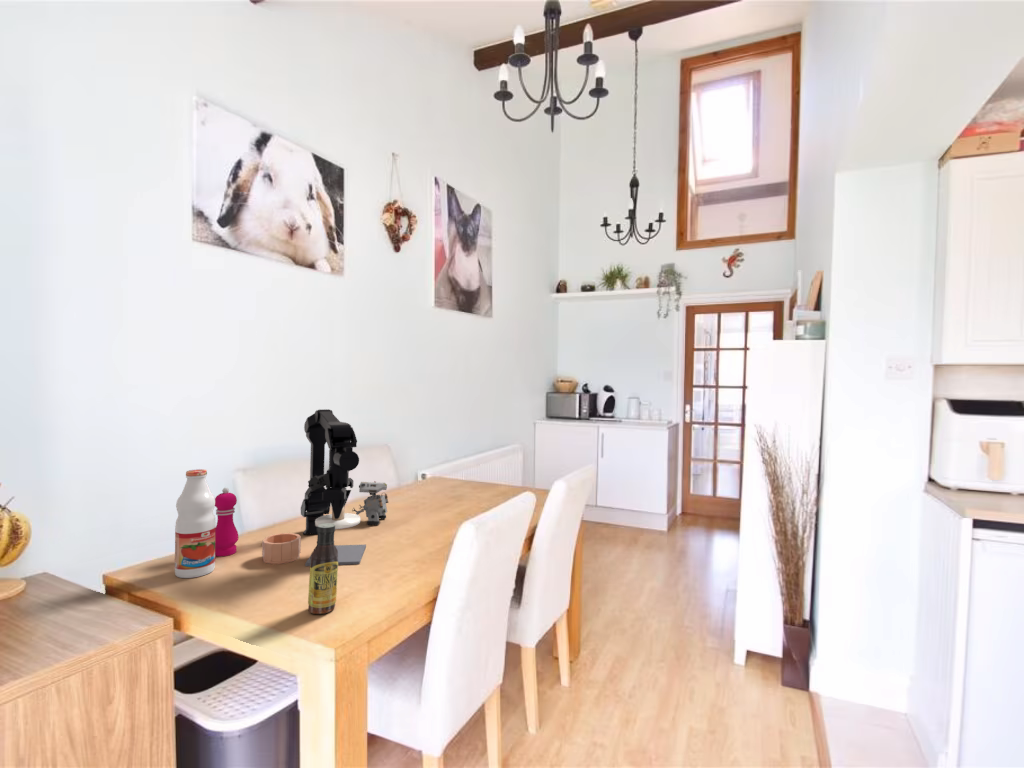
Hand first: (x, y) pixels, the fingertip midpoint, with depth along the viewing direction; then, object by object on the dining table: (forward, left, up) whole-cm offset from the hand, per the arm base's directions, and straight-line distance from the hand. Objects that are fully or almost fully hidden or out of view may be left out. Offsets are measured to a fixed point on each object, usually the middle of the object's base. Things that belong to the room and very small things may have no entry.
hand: (338, 516), depth 154 cm
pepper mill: (-6, -34, -12) cm, 37 cm away
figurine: (-36, +6, -12) cm, 39 cm away
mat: (0, 0, -12) cm, 12 cm away
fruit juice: (+9, -36, -12) cm, 39 cm away
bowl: (0, -16, -12) cm, 20 cm away
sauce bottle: (+36, +3, -12) cm, 38 cm away
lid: (0, 0, -2) cm, 2 cm away
